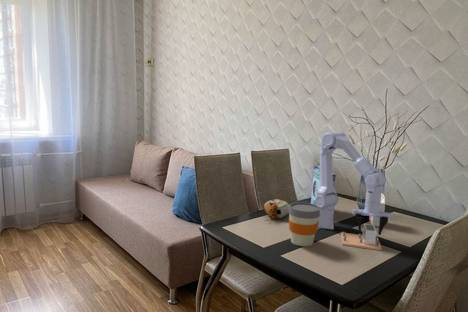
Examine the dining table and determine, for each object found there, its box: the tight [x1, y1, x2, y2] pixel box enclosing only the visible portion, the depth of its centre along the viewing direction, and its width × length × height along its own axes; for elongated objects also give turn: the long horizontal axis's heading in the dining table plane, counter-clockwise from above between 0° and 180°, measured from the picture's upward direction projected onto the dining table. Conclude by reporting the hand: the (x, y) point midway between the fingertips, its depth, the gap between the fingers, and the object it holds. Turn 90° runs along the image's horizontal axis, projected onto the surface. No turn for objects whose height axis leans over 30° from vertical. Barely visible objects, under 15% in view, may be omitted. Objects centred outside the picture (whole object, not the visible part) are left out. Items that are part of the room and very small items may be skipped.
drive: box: [361, 223, 378, 246], centre depth 142 cm, size 4×8×6 cm, turn 166°
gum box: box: [310, 165, 337, 205], centre depth 177 cm, size 20×5×23 cm, turn 4°
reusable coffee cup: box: [288, 201, 320, 247], centre depth 140 cm, size 13×12×15 cm
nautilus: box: [263, 199, 290, 222], centre depth 169 cm, size 8×22×15 cm
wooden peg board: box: [340, 231, 383, 251], centre depth 143 cm, size 15×12×2 cm
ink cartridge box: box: [368, 193, 386, 227], centre depth 164 cm, size 9×5×15 cm, turn 168°
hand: (369, 232), depth 141 cm, fingers open, 7 cm apart
